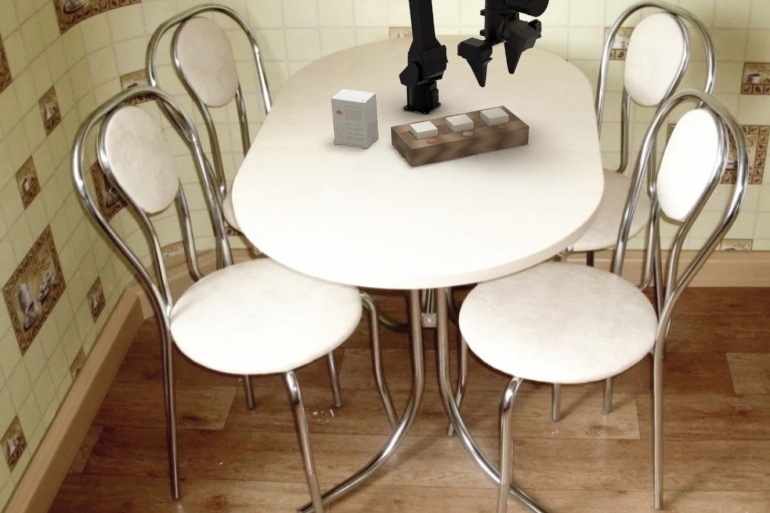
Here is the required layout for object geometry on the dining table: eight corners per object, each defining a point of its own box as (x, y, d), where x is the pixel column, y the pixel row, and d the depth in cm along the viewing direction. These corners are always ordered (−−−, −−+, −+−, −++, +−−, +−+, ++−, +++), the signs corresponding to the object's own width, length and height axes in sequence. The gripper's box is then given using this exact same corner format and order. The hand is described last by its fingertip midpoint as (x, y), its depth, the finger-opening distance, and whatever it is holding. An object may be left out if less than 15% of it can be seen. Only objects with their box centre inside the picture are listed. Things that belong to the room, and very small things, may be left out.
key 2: (489, 132, 199) (489, 118, 197) (480, 124, 202) (480, 111, 201) (508, 128, 200) (508, 115, 199) (499, 120, 204) (499, 107, 202)
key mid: (453, 139, 197) (453, 125, 195) (445, 131, 200) (445, 117, 199) (473, 135, 198) (473, 121, 196) (464, 127, 201) (464, 114, 200)
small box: (379, 138, 204) (377, 92, 199) (368, 149, 200) (365, 102, 195) (345, 133, 207) (342, 87, 202) (334, 144, 203) (330, 97, 198)
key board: (412, 167, 192) (411, 148, 190) (391, 144, 202) (390, 125, 200) (528, 143, 199) (529, 125, 197) (502, 122, 209) (503, 104, 207)
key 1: (417, 146, 195) (417, 132, 193) (410, 137, 198) (409, 124, 197) (437, 142, 196) (437, 128, 194) (429, 134, 199) (429, 120, 198)
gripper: (500, 26, 177) (498, 104, 185) (561, 1, 187) (556, 77, 196) (455, 13, 183) (455, 89, 192) (517, -10, 194) (514, 63, 203)
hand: (496, 80), depth 195 cm, fingers open, 9 cm apart
